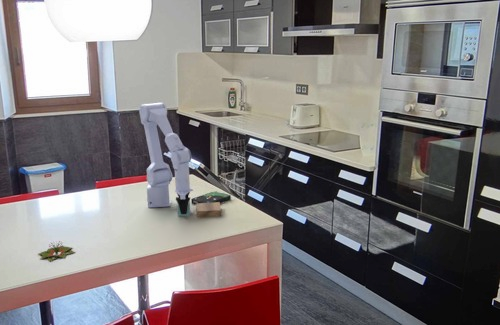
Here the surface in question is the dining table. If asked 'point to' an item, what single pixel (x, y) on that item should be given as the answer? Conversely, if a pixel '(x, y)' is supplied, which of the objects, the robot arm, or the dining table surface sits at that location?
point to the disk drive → (211, 198)
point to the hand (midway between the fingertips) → (184, 210)
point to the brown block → (208, 209)
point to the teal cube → (187, 210)
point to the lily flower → (55, 250)
